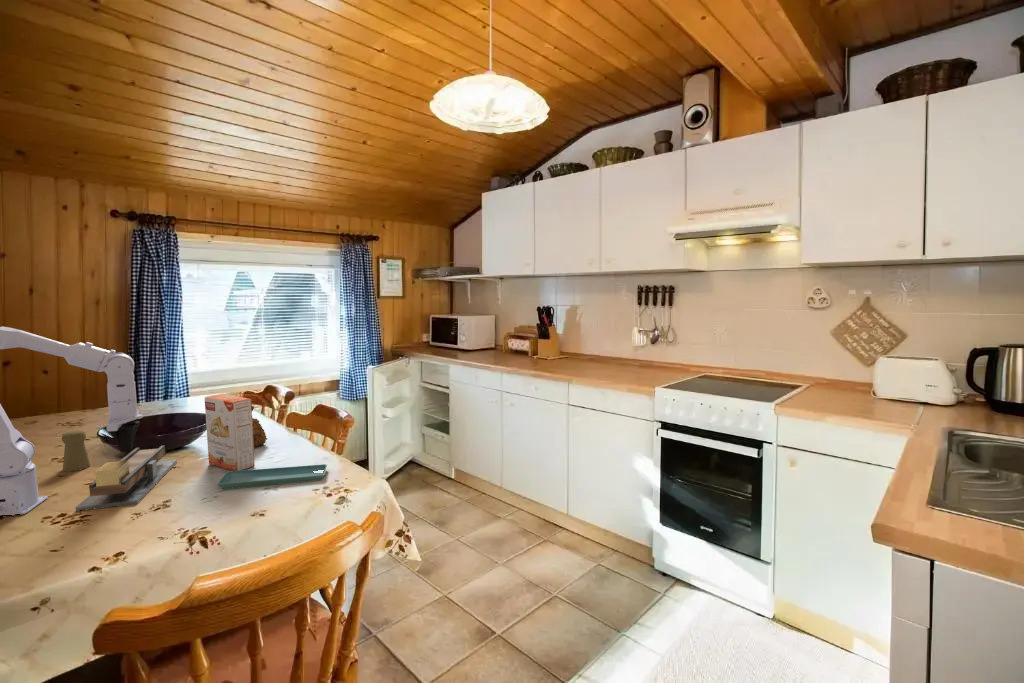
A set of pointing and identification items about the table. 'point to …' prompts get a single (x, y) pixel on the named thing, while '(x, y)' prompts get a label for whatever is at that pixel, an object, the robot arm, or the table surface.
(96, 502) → the pivot stand
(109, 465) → the brass block
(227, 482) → the rectangular tray
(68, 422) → the table surface
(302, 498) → the table surface
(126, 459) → the walnut beam
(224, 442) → the cracker box
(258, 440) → the stuffed squirrel
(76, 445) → the olive green shaker
